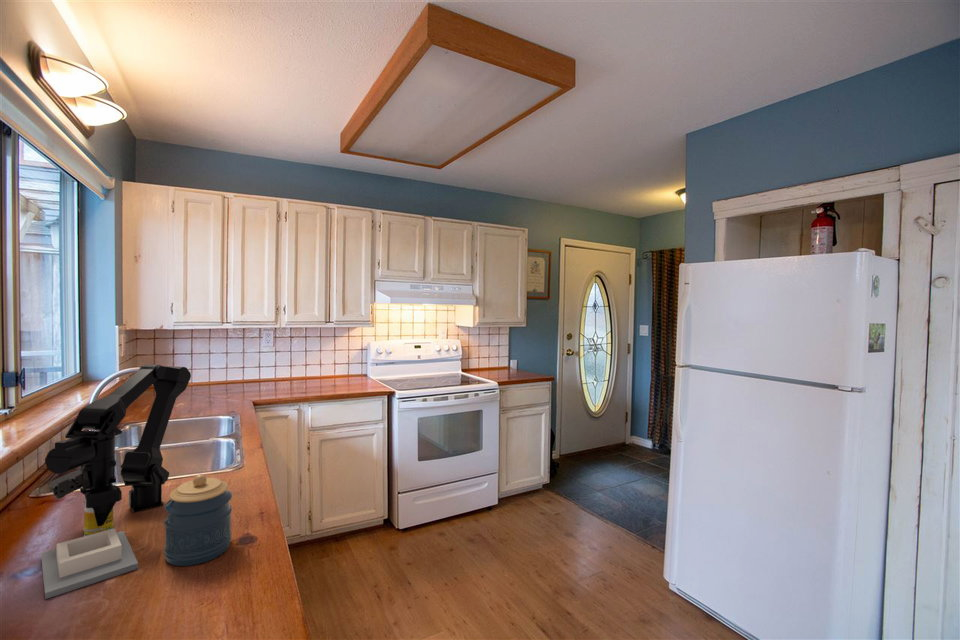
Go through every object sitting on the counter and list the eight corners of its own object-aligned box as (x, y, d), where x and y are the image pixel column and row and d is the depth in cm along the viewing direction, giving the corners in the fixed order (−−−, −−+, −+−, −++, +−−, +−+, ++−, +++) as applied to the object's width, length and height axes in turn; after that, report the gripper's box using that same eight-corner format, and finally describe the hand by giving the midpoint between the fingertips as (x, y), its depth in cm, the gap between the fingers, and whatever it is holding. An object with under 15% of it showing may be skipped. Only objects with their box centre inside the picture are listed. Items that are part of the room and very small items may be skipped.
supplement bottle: (88, 530, 107) (88, 491, 107) (116, 526, 110) (116, 488, 109) (80, 541, 102) (80, 501, 102) (109, 536, 105) (109, 497, 104)
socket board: (123, 535, 105) (123, 518, 105) (137, 568, 93) (138, 549, 93) (41, 558, 95) (41, 539, 95) (45, 599, 83) (45, 577, 83)
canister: (222, 530, 110) (223, 460, 109) (238, 552, 100) (240, 476, 100) (159, 549, 101) (159, 473, 100) (170, 575, 91) (171, 492, 91)
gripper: (50, 454, 106) (50, 518, 106) (55, 478, 93) (55, 550, 94) (110, 445, 114) (109, 504, 114) (122, 465, 101) (121, 531, 102)
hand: (98, 521), depth 106 cm, fingers closed on supplement bottle, 5 cm apart
